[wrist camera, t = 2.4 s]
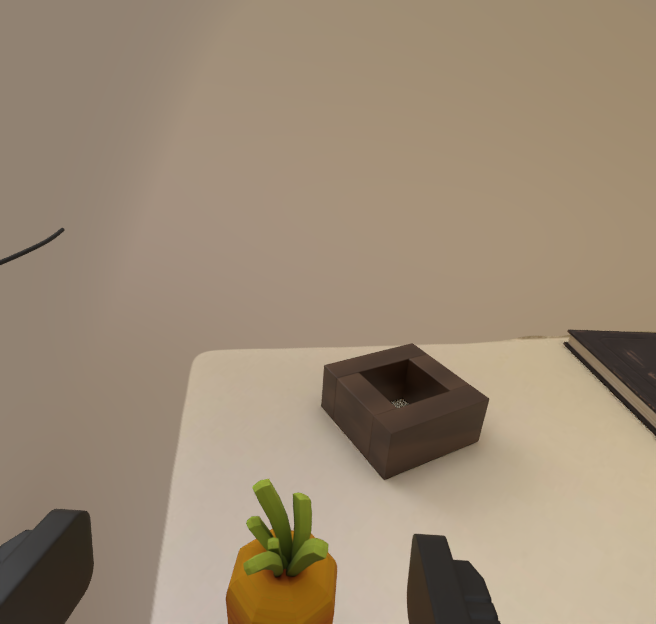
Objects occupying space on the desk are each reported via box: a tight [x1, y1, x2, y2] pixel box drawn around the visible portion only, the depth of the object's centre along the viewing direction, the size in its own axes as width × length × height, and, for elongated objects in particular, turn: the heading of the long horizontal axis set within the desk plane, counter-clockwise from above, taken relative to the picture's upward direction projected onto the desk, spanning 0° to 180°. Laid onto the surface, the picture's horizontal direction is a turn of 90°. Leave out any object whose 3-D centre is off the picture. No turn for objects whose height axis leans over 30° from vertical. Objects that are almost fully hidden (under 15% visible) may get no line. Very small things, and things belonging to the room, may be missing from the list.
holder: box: [321, 344, 489, 480], centre depth 45 cm, size 11×11×5 cm
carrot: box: [226, 479, 337, 624], centre depth 21 cm, size 5×5×15 cm
